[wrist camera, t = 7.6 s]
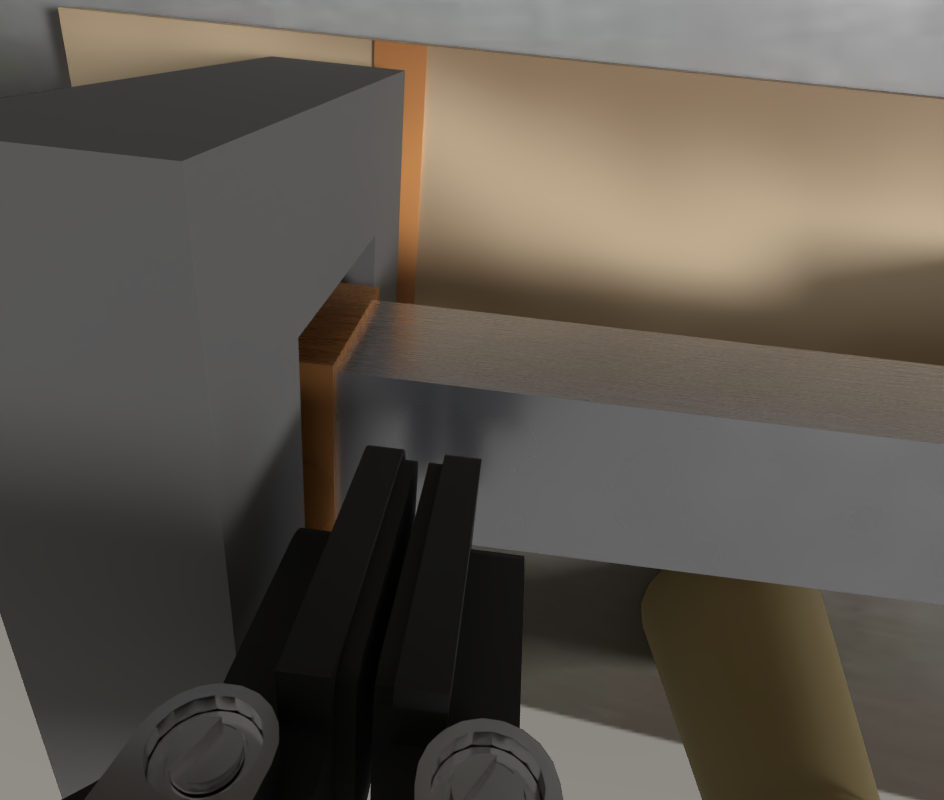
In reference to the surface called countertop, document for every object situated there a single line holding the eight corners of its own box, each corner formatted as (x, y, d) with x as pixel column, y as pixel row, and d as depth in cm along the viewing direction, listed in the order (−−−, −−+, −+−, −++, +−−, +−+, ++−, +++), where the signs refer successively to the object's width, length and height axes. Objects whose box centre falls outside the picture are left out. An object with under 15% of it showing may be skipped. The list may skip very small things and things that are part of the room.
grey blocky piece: (91, 144, 18) (-207, 230, 11) (1130, 259, 17) (1552, 435, 10) (127, 359, 20) (-87, 537, 13) (1012, 465, 20) (1272, 714, 13)
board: (78, 7, 17) (55, 7, 16) (1187, 123, 16) (1220, 128, 15) (147, 430, 23) (133, 445, 22) (960, 531, 22) (976, 550, 21)
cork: (631, 664, 26) (684, 1046, 16) (650, 537, 23) (729, 911, 13) (799, 675, 25) (956, 1076, 16) (841, 547, 22) (1065, 943, 13)
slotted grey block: (271, 56, 16) (-165, 123, 6) (404, 70, 15) (182, 161, 6) (290, 463, 21) (77, 844, 11) (389, 475, 21) (260, 870, 11)
